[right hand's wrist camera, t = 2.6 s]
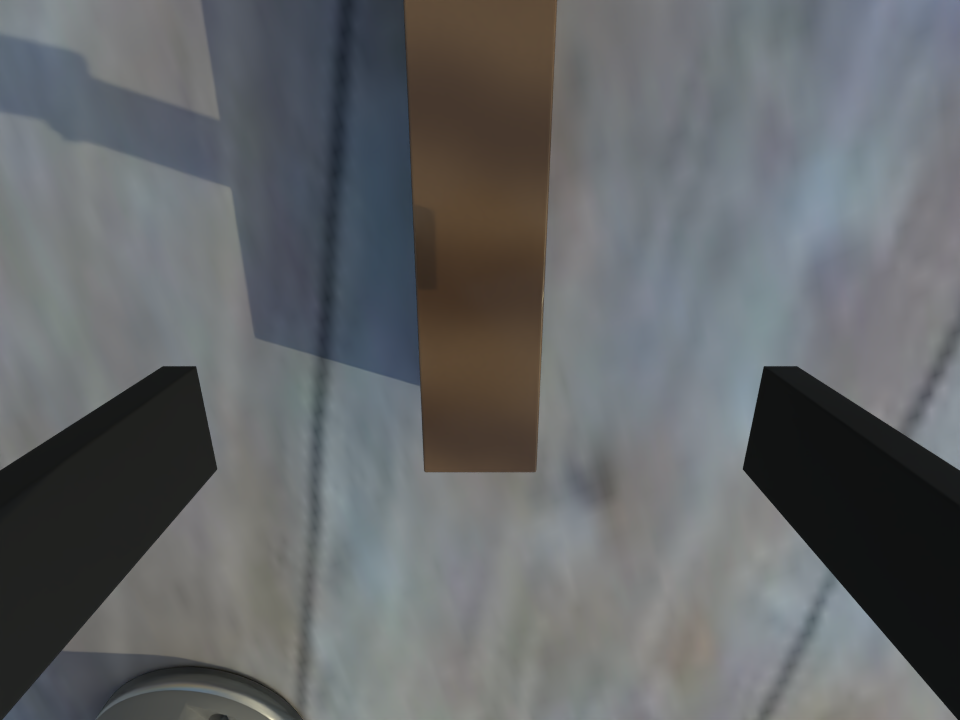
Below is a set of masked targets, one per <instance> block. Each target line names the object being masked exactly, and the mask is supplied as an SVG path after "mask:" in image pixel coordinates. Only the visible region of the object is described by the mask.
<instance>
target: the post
mask: <svg viewBox="0 0 960 720" xmlns="http://www.w3.org/2000/svg"><path fill="white" fill-rule="evenodd" d="M556 13H557V0H404V22H405V45H406V67H407V90H408V113H409V136H410V159H411V182H412V204H413V227H414V250H415V273H416V296H417V318H418V341H419V364H420V387H421V410H422V432H423V455H424V471H425V472H536V465H537V443H538V420H539V397H540V375H541V352H542V330H543V307H544V284H545V262H546V239H547V216H548V194H549V171H550V148H551V126H552V103H553V81H554V58H555V35H556Z"/></svg>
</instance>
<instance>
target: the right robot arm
mask: <svg viewBox="0 0 960 720" xmlns="http://www.w3.org/2000/svg"><path fill="white" fill-rule="evenodd" d="M216 470H217V466H216V461H215V456H214V451H213V446H212V441H211V437H210V432H209V427H208V422H207V417H206V412H205V407H204V403H203V398H202V393H201V388H200V383H199V378H198V373H197V369H196V366H163V367H161V368H160V369H158V370H157V371H155V372H153V373H152V374H150V375H149V376H147V377H146V378H144V379H142V380H141V381H139V382H138V383H136V384H135V385H133V386H132V387H130V388H128V389H127V390H125V391H124V392H122V393H121V394H119V395H117V396H116V397H114V398H113V399H111V400H110V401H108V402H107V403H105V404H103V405H102V406H100V407H99V408H97V409H96V410H94V411H93V412H91V413H89V414H88V415H86V416H85V417H83V418H82V419H80V420H78V421H77V422H75V423H74V424H72V425H71V426H69V427H68V428H66V429H64V430H63V431H61V432H60V433H58V434H57V435H55V436H53V437H52V438H50V439H49V440H47V441H46V442H44V443H43V444H41V445H39V446H38V447H36V448H35V449H33V450H32V451H30V452H28V453H27V454H25V455H24V456H22V457H21V458H19V459H18V460H16V461H14V462H13V463H11V464H10V465H8V466H7V467H5V468H3V469H2V470H0V720H2V719H3V718H4V717H5V716H6V715H7V713H8V712H9V711H10V710H11V709H12V708H13V706H14V705H15V704H16V703H17V702H18V701H19V699H20V698H21V697H22V696H23V695H24V694H25V692H26V691H27V690H28V689H29V688H30V687H31V685H32V684H33V683H34V682H35V681H36V680H37V678H38V677H39V676H40V675H41V674H42V673H43V671H44V670H45V669H46V668H47V667H48V666H49V664H50V663H51V662H52V661H53V660H54V659H55V658H56V656H57V655H58V654H59V653H60V652H61V651H62V649H63V648H64V647H65V646H66V645H67V644H68V642H69V641H70V640H71V639H72V638H73V637H74V635H75V634H76V633H77V632H78V631H79V630H80V628H81V627H82V626H83V625H84V624H85V623H86V621H87V620H88V619H89V618H90V617H91V616H92V614H93V613H94V612H95V611H96V610H97V609H98V607H99V606H100V605H101V604H102V603H103V602H104V600H105V599H106V598H107V597H108V596H109V595H110V593H111V592H112V591H113V590H114V589H115V588H116V587H117V585H118V584H119V583H120V582H121V581H122V580H123V578H124V577H125V576H126V575H127V574H128V573H129V571H130V570H131V569H132V568H133V567H134V566H135V564H136V563H137V562H138V561H139V560H140V559H141V557H142V556H143V555H144V554H145V553H146V552H147V550H148V549H149V548H150V547H151V546H152V545H153V543H154V542H155V541H156V540H157V539H158V538H159V536H160V535H161V534H162V533H163V532H164V531H165V529H166V528H167V527H168V526H169V525H170V524H171V522H172V521H173V520H174V519H175V518H176V517H177V515H178V514H179V513H180V512H181V511H182V510H183V509H184V507H185V506H186V505H187V504H188V503H189V502H190V500H191V499H192V498H193V497H194V496H195V495H196V493H197V492H198V491H199V490H200V489H201V488H202V486H203V485H204V484H205V483H206V482H207V481H208V479H209V478H210V477H211V476H212V475H213V474H214V472H215V471H216ZM743 470H744V471H745V472H746V474H747V475H748V476H749V477H750V478H751V479H752V481H753V482H754V483H755V484H756V485H757V486H758V488H759V489H760V490H761V491H762V492H763V493H764V495H765V496H766V497H767V498H768V499H769V500H770V502H771V503H772V504H773V505H774V506H775V507H776V509H777V510H778V511H779V512H780V513H781V514H782V515H783V517H784V518H785V519H786V520H787V521H788V522H789V524H790V525H791V526H792V527H793V528H794V529H795V531H796V532H797V533H798V534H799V535H800V536H801V538H802V539H803V540H804V541H805V542H806V543H807V545H808V546H809V547H810V548H811V549H812V550H813V552H814V553H815V554H816V555H817V556H818V557H819V559H820V560H821V561H822V562H823V563H824V564H825V566H826V567H827V568H828V569H829V570H830V571H831V573H832V574H833V575H834V576H835V577H836V578H837V580H838V581H839V582H840V583H841V584H842V585H843V587H844V588H845V589H846V590H847V591H848V592H849V593H850V595H851V596H852V597H853V598H854V599H855V600H856V602H857V603H858V604H859V605H860V606H861V607H862V609H863V610H864V611H865V612H866V613H867V614H868V616H869V617H870V618H871V619H872V620H873V621H874V623H875V624H876V625H877V626H878V627H879V628H880V630H881V631H882V632H883V633H884V634H885V635H886V637H887V638H888V639H889V640H890V641H891V642H892V644H893V645H894V646H895V647H896V648H897V649H898V651H899V652H900V653H901V654H902V655H903V656H904V658H905V659H906V660H907V661H908V662H909V663H910V664H911V666H912V667H913V668H914V669H915V670H916V671H917V673H918V674H919V675H920V676H921V677H922V678H923V680H924V681H925V682H926V683H927V684H928V685H929V687H930V688H931V689H932V690H933V691H934V692H935V694H936V695H937V696H938V697H939V698H940V699H941V701H942V702H943V703H944V704H945V705H946V706H947V708H948V709H949V710H950V711H951V712H952V713H953V715H954V716H955V717H956V718H957V719H958V720H960V470H958V469H957V468H955V467H953V466H952V465H950V464H949V463H947V462H946V461H944V460H942V459H941V458H939V457H938V456H936V455H935V454H933V453H932V452H930V451H928V450H927V449H925V448H924V447H922V446H921V445H919V444H917V443H916V442H914V441H913V440H911V439H910V438H908V437H907V436H905V435H903V434H902V433H900V432H899V431H897V430H896V429H894V428H892V427H891V426H889V425H888V424H886V423H885V422H883V421H882V420H880V419H878V418H877V417H875V416H874V415H872V414H871V413H869V412H867V411H866V410H864V409H863V408H861V407H860V406H858V405H857V404H855V403H853V402H852V401H850V400H849V399H847V398H846V397H844V396H842V395H841V394H839V393H838V392H836V391H835V390H833V389H832V388H830V387H828V386H827V385H825V384H824V383H822V382H821V381H819V380H818V379H816V378H814V377H813V376H811V375H810V374H808V373H807V372H805V371H803V370H802V369H800V368H799V367H797V366H764V369H763V373H762V378H761V383H760V388H759V393H758V398H757V403H756V407H755V412H754V417H753V422H752V427H751V432H750V437H749V441H748V446H747V451H746V456H745V461H744V466H743ZM95 720H302V718H301V717H300V715H299V714H298V713H297V712H296V711H295V710H294V708H293V707H292V706H291V705H290V704H288V703H287V702H286V701H285V700H284V699H283V698H281V697H280V696H279V695H277V694H276V693H274V692H273V691H271V690H270V689H268V688H266V687H264V686H262V685H261V684H259V683H256V682H254V681H252V680H250V679H247V678H245V677H242V676H239V675H236V674H232V673H229V672H224V671H220V670H214V669H208V668H196V667H181V668H169V669H163V670H158V671H154V672H150V673H147V674H144V675H142V676H139V677H137V678H135V679H133V680H131V681H129V682H127V683H126V684H125V685H123V686H122V687H120V688H119V689H118V690H117V691H116V692H115V693H114V694H113V695H112V696H111V698H110V699H109V701H108V702H107V703H106V705H105V706H104V708H103V709H102V711H101V712H100V714H99V715H98V716H97V718H96V719H95Z"/></svg>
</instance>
